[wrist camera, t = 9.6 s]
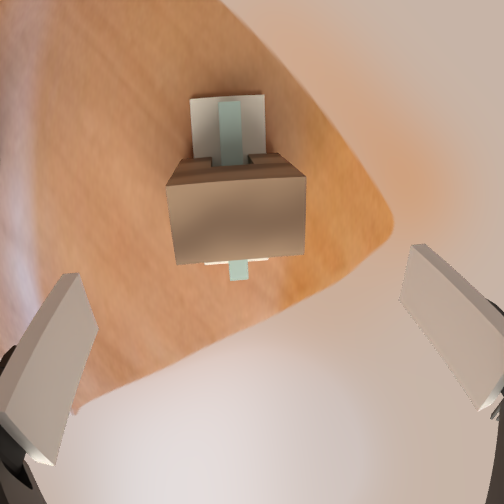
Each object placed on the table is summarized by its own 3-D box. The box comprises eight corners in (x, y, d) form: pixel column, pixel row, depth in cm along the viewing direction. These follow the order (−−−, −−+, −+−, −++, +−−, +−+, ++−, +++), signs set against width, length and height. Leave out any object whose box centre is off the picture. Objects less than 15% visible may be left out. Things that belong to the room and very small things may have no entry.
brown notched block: (181, 159, 25) (165, 186, 17) (277, 152, 26) (306, 176, 18) (187, 215, 28) (176, 265, 20) (278, 208, 28) (304, 254, 20)
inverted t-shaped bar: (190, 99, 24) (185, 98, 20) (262, 95, 24) (272, 93, 20) (204, 261, 31) (203, 288, 26) (267, 255, 31) (275, 281, 27)
